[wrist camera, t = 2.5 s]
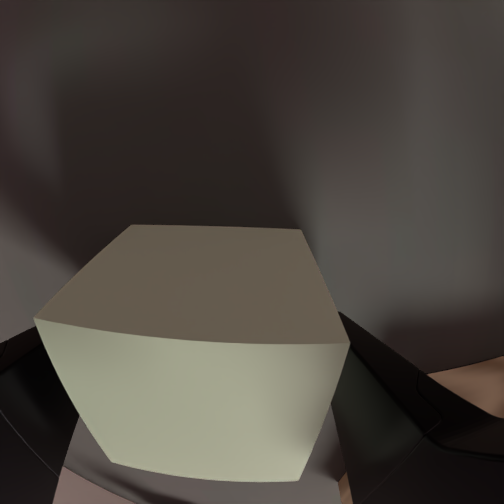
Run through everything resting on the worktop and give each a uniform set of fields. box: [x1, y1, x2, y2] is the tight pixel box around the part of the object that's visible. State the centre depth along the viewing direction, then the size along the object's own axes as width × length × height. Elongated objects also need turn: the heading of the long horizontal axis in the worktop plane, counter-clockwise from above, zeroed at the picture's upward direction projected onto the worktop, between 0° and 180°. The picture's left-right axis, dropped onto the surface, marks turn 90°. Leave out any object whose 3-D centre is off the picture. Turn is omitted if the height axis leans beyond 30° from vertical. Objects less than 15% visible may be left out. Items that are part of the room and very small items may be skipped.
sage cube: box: [33, 225, 350, 482], centre depth 7 cm, size 5×5×5 cm
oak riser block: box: [338, 356, 504, 504], centre depth 11 cm, size 12×12×4 cm
